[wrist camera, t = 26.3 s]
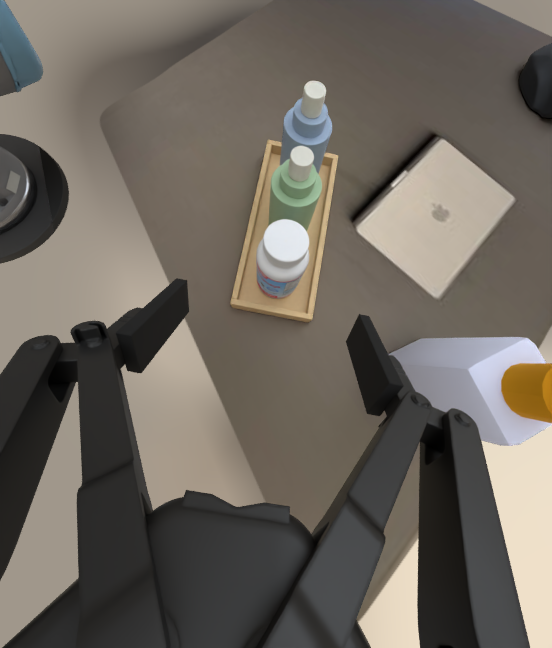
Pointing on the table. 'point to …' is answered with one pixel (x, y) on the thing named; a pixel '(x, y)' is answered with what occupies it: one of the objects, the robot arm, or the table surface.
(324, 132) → the blue-grey bottle
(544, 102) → the computer mouse
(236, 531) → the robot arm
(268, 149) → the tray
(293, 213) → the green bottle
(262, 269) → the pill bottle
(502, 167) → the table surface
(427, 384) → the soap bottle
